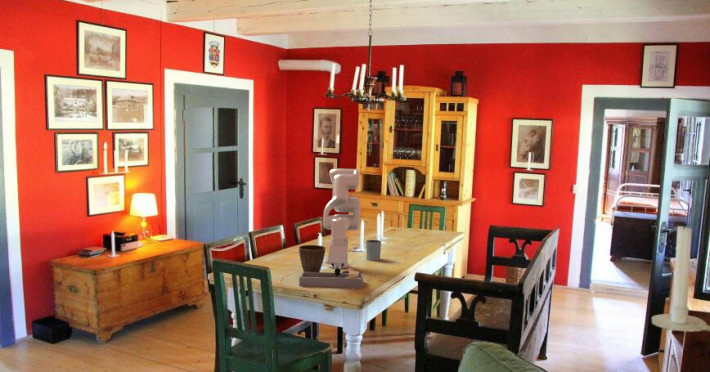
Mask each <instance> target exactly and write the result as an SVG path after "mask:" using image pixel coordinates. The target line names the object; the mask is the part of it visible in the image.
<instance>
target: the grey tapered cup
mask: <svg viewBox="0 0 710 372" xmlns="http://www.w3.org/2000/svg"><path fill="white" fill-rule="evenodd" d="M381 249H382V240H380V239H367V240H365V250H366V251H365V252H366V253H365V254H366V260H367V261H369V262H378V261H380V260H381V251H382V250H381Z"/></svg>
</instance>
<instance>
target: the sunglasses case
mask: <svg viewBox="0 0 710 372" xmlns="http://www.w3.org/2000/svg"><path fill="white" fill-rule="evenodd" d="M349 271H351V272H359V274H363V273H362V272H361V271H358V270H357V269H355V268H353V267H352V266H350V267H348V268H345V270H343V271H342V272H341V273H349Z"/></svg>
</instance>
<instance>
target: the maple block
mask: <svg viewBox="0 0 710 372" xmlns="http://www.w3.org/2000/svg"><path fill="white" fill-rule="evenodd" d="M359 272H360V271H359ZM359 272H351V271H349V274H348V278H351V279H358V274H359Z"/></svg>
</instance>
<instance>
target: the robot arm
mask: <svg viewBox="0 0 710 372" xmlns="http://www.w3.org/2000/svg"><path fill="white" fill-rule="evenodd" d="M328 175H329V178H330V182H331V185H332V196H331V197H332V198H331V200H329V202H328V203H327V204H326V205H325V207H324V209H323V217H322V218H323V220H322V226H323V228H324V229H325V230H331V232H330V233H331V235H330V236H331V237H330V238H331V240H330V243H329V246H328V253H327V254H328V257H327V259H328V260H327V261H328V262H327V265H328V267H330V268H332V269H334V273H335V274H336V276H337V275H338V276H339V274H340V273H342V272H341V269H348V268H350V267H351V264H350V263H348V262H349V261H348V258H349V257H348V253H349V251H348V250H349V237H348V235H347V234H346V233H347V232H346V231H359V230H360V228H361V211H362V209H361V207H362V205H361V200H360V198H359V197H358V196H349V190H357V189H359V186H360V171H359V169H357V168H332V169H331V170H329V174H328ZM332 210H334V211H335V212H337V214H334V215H329V214H330V212H331V211H332ZM339 213H340V214H339ZM342 213H343V214H342ZM344 213H351V214H344Z"/></svg>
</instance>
